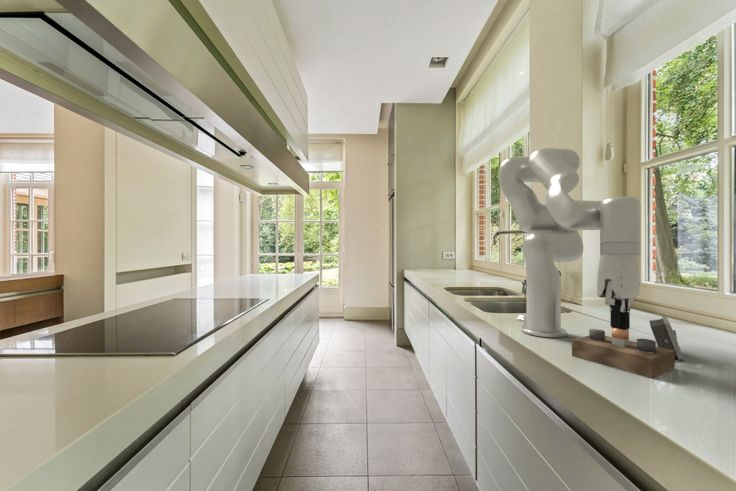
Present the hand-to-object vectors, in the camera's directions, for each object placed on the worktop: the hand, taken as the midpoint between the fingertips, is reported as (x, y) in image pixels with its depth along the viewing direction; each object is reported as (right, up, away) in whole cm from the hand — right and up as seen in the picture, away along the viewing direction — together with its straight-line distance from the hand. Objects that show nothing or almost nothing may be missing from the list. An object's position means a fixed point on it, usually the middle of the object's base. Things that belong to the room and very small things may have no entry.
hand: (619, 328), depth 78 cm
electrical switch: (+15, -8, +5) cm, 18 cm away
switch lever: (-2, -8, +4) cm, 9 cm away
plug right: (+2, -8, -4) cm, 9 cm away
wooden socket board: (0, -8, 0) cm, 8 cm away
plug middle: (0, -6, 0) cm, 6 cm away
